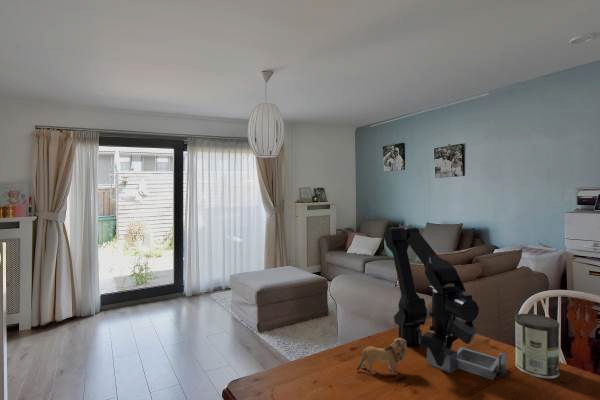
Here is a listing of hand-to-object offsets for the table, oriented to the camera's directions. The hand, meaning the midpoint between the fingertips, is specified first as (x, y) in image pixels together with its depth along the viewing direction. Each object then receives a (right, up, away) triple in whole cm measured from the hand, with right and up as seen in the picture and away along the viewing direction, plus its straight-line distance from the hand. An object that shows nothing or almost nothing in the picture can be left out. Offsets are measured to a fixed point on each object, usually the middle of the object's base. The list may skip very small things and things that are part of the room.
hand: (442, 362), depth 96 cm
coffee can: (+26, -1, -2) cm, 26 cm away
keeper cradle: (+10, -1, -1) cm, 10 cm away
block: (0, -1, 0) cm, 1 cm away
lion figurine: (-18, -2, -1) cm, 18 cm away
